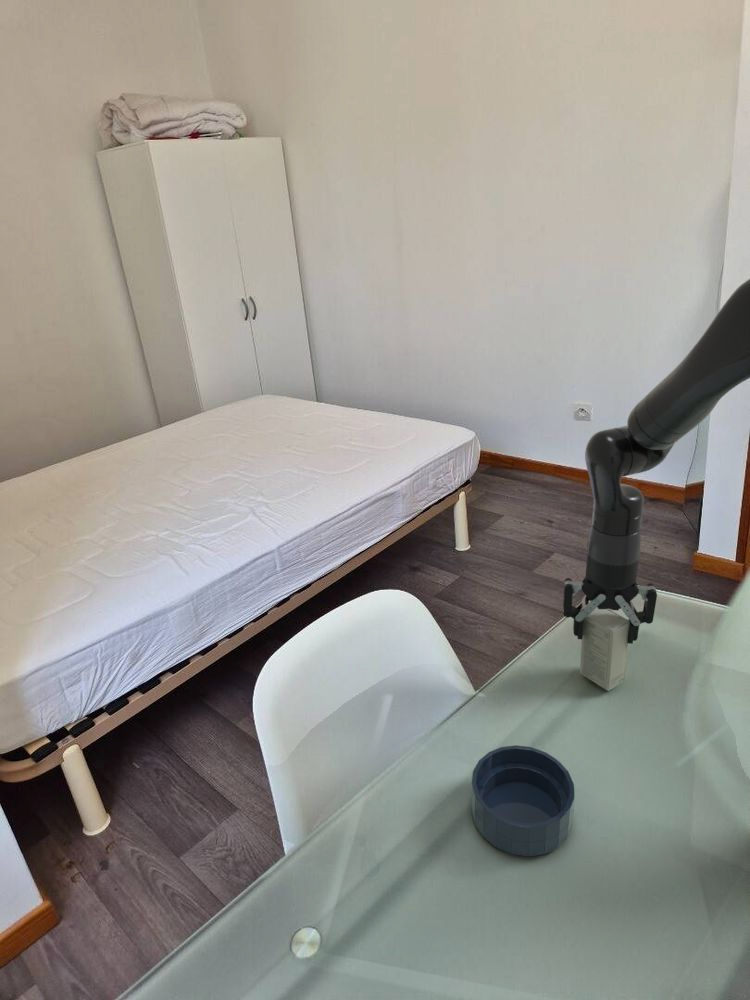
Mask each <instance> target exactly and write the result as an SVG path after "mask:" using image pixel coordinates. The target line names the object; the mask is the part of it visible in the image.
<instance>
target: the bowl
mask: <svg viewBox="0 0 750 1000" xmlns="http://www.w3.org/2000/svg"><path fill="white" fill-rule="evenodd" d="M470 801H471V807H470V808H471V809H470V811H471V815H472V819H473V822H474V825H475V826H476V828H477V830H478V831H479V833H480V834H481V836H482V837H483V838H484V839H485V840H487V841H488V842H489V843H490V844H491V845H492V846H494V847H495V848H497V849H499V850H501V851H504V852H506V853H507V854H511V855H516V856H523V857H534V856H542V855H546V854H548V853H550V852H553V851H554V850H557V849H558V848H559V847H560V846H561V845H562V844H563V843H564V842H565V841H566V840H567V838H568V837H569V834H570V831H571V828H572V825H573V819H574V818H573V816H574V807H575V784H574V781H573V779H572V777H571V774H570V772H569V770H568V769H567V768H566V767H565V766H564V765H563V763H562V762H561V761H560V760H558V759H557V758H555V757H554V756H552V755H551V754H550V753H548V752H547V751H543V750H540V749H538V748H535V747H532V746H526V745H525V746H523V745H508V746H507V745H506V746H500V747H498V748H495V749H493V750H491V751H488V752H487V753H486V754H485V755H483V756H482V757H481V758H480V759H478V761H477V764H476V765H475V767H474V768H473V771H472V778H471V799H470Z"/></svg>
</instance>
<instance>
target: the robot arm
mask: <svg viewBox="0 0 750 1000" xmlns="http://www.w3.org/2000/svg"><path fill="white" fill-rule="evenodd" d="M749 379H750V278H748V279H747V280H745V281H744V282H743V283H741V284H740V285H739V286H738V287H737V288H736V289H735V290H734V291H733V293H732V294H731V295H729V297H728V299H727V300H726V301H725V303H723V305H722V307H721V308H720V310H719V311H718V312H717V313H716V315H715V316H714V318H713V320H712V321H711V322H710V324H709V326H708V327H707V328H706V330H705V331H704V333H703V334H702V336H701V337H700V338H699V340H698V341H697V342H696V343H695V345H694V346H693V347H692V349H690V351H689V352H688V353H687V354H686V356H685V357H684V358H683V359H682V360H681V361H680V362H679V364H677V366H675V368H674V369H673V370H672V371H670V372H669V373H668V374H667V375H666V376H665V377H664V378H663V379H662V380H661V381H660V382H659V383H658V384H657V385H655V386H654V387H653V388H652V389H651V390H650V391H649V392H648V393H647V394H646V395H645V396H644V397H643V398H642V399H640V400H639V402H638V403H637V404H636V405H635V406H634V407H633V408H632V410H631V411H630V412H629V414H628V416H627V425H623V426H618V427H614V428H607V429H603V430H599V431H597V432H595V433H594V434H593V435H591V437H590V438H589V440H588V442H587V443H586V446H585V451H584V461H585V465H586V466H585V467H586V470H587V473H588V477H589V483H590V488H591V493H592V497H593V499H592V500H593V505H592V515H591V524H590V530H589V534H588V540H587V554H586V564H585V577H584V578H583V580H582V581H573V579H572V578H571V577H567V578H565V579H564V580H563V581H564V582H563V605H562V607H563V617H565V618H572V619H573V625H572V626H573V627H572V628H573V629H572V630H573V635H574V636H575V637H577V640H581V641H582V636H583V624H584V620H583V619H584V618H585V617H586V616H587V615H588V614H591V613H592V612H593V610H594V609H595V608H596V607H598V609H608V610H610V611H619V610H620V609H621V610H622V612H623V613H624V615H625V616H626V618H627V619H628V620H629V621H630V622H629V635H628V645H630V644H631V645H633V643H634V641H635V642H636V641H637V640H638V637H639V630H640V625H641V624H644V623H645V624H647V625H650V624H652V623H653V622H654V618H655V617H654V616H655V611H656V605H657V598H658V593H657V589H656V585H655V584H654V583H652V582H650V583H648V584H647V585H638V583H637V580H638V579H637V578H638V572H639V571H638V570H639V562H640V554H641V547H642V523H643V513H644V503H645V499H644V495H643V492H642V491H641V490H640V489H639V488H637V487H635V486H633V485H629V484H626V483H621V480H622V477H627V476H633V475H636V474H641V473H645V472H647V471H650V470H652V469H654V468H656V467H658V466H659V465H661V463H663V461H664V460H665V459H666V457H667V456H668V455H669V453H670V452H671V450H672V449H673V447H674V445H675V444H676V443H677V442H678V441H680V440H681V439H682V438H683V437H685V436H686V435H687V434H689V433H690V432H691V431H692V430H694V429H695V428H696V427H697V426H698V425H699V424H701V423H702V422H703V421H704V420H705V419H706V418H707V417H708V416H709V415H710V414H711V413H712V411H713V410H714V409H715V407H716V406H717V404H718V403H719V401H721V399H722V398H723V397H724V396H725V395H726V394H728V393H729V392H730V391H732V390H733V389H734V388H736V387H737V386H739V385H740V384H741V383H743V382H745V381H747V380H749ZM579 591H581V592H582V593H583V594H584V596H583V597H582V598H581V601H580V602H579V603H578V604H577V605H576V606H574V605H573V597H575V596H577V595H578V593H579ZM638 595H640V597H641V599H642V600H643V608H642V609H643V610H641V611H638V610H637V608H636V607H635V606H634V603H633V602H632V601H633V599H635V598H636V597H637V596H638Z"/></svg>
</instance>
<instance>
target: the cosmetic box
mask: <svg viewBox="0 0 750 1000" xmlns="http://www.w3.org/2000/svg"><path fill="white" fill-rule="evenodd" d="M583 620H584V624H583V636H582V640H581V644H580V645H581V646H580V667H579V673H580V675H582V676H584V677H586V678H587V679H588V680H590V681H591V682H593V683H595V684H596V685H598V686H599V687H601V688H602V689H604V690H606V691H607V692H610V691H611V690H612V689H614V688H616V687H617V686H619V685H620V684H622V683H623V682H625V680H626V671H627V670H626V668H627V657H628V646H629V644H628V635H629V622H630V621H629V619H628V618H625V617H624V616H622V615H620V614H618V613H616V612H614V611H613V610H611V609H598V607H596V608H595V609H594V610H593V612H592V613H591V614H588V615H587V616H586V617H585V618H584V619H583Z"/></svg>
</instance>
